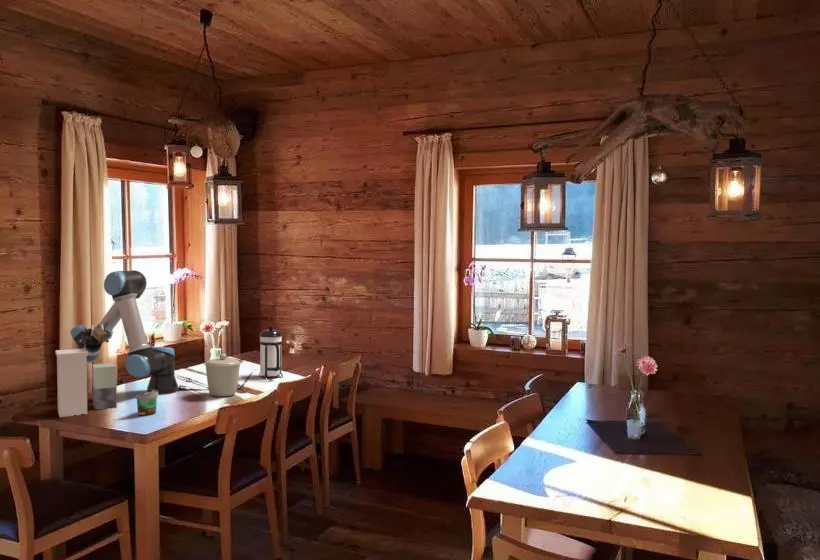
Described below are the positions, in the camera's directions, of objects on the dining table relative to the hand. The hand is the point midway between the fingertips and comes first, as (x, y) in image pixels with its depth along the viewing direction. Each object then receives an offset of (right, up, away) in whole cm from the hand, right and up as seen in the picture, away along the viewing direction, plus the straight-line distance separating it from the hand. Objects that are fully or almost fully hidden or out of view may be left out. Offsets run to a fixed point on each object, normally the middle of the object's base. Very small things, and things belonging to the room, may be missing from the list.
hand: (97, 327), depth 317 cm
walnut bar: (+3, -5, -4) cm, 7 cm away
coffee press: (+69, -34, +67) cm, 102 cm away
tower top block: (+6, -27, -5) cm, 28 cm away
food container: (+32, -38, -17) cm, 52 cm away
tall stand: (-3, -37, -17) cm, 41 cm away
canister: (+53, -36, +22) cm, 68 cm away
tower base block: (+5, -37, -5) cm, 38 cm away
